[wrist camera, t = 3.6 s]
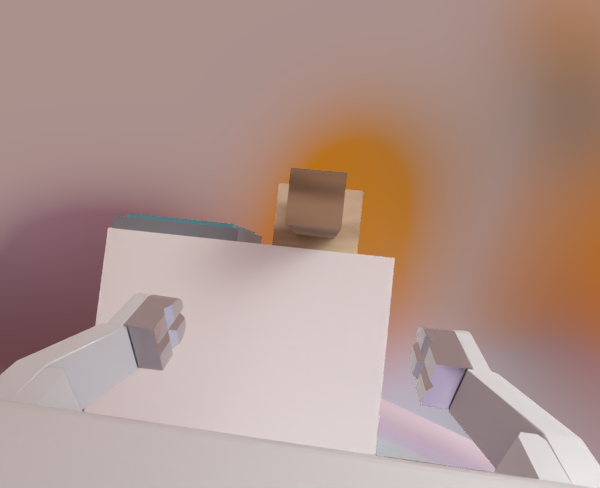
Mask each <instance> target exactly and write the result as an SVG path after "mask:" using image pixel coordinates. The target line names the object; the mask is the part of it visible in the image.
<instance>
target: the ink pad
mask: <svg viewBox="0 0 600 488" xmlns="http://www.w3.org/2000/svg"><path fill="white" fill-rule="evenodd" d="M112 228H116V229H125V230H135V231H144V232H153V233H163V234H172V235H182V236H191V237H200V238H210V239H219V240H229V241H238V242H248V243H257V244H261V239H262V237H261V236H259V235H256V234H254V233H255V232H252V231H250V230H247V229H245V228H242V227H239V226H237V225H234V224H227V223H217V222H207V221H197V220H187V219H178V218H167V217H158V216H148V215H139V214H129V213H128V215H127V217H122V216H113V225H112Z"/></svg>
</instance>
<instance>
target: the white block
mask: <svg viewBox="0 0 600 488" xmlns="http://www.w3.org/2000/svg"><path fill="white" fill-rule="evenodd" d="M394 260H395V258H388V257H379V256H370V255H360V254H351V253H342V252H332V251H323V250H313V249H304V248H295V247H285V246H276V245H266V244H257V243H248V242H238V241H229V240H219V239H210V238H200V237H191V236H182V235H172V234H163V233H153V232H144V231H135V230H125V229H116V228H108V234H107V241H106V249H105V257H104V264H103V272H102V280H101V287H100V295H99V302H98V310H97V318H96V326H97V325H99V324H101V323H104V324H106V323H107V322H108V321H109V320H110V319H111V318H112V317H113V316H114V315H115V314H116V313H117V312H118V311H119V310H120V309H121V308H122V307H123V306H124V305H125V304H126V303H127V302H128V301H129V300H130V299H131V298H132V297H133V296H134V295H135V294H137V293H143V294H150V295H159V296H166V297H173V298H179V299H181V300H182V304H183V309H182V310H181V312H180V313H181V314H182V315H183V316H184V317H185V322H186V326H185V332H184V335H183V338H182V340H181V342H180V344H179V345H177V346H176V347H174V348H172V353H173V355H172V357H171V358H170V360H169V362H168V363H167V365H166V366H165V368H164V370H163V371H162V370H153V369H143V368H138V370H136V371H135V372H134V373H132V374H131V375H129V376H128V377H127V378H125V379H124V380H122V381H121V382H120V383H118V384H117V385H116V386H114V387H113V388H111V389H110V390H109V391H107V392H106V393H104V394H103V395H102V396H100V397H99V398H97V399H96V400H95V401H93V402H92V403H91V404H89V405H88V406H86V407H85V409H84V412H87V413H93V414H100V415H107V416H114V417H121V418H127V419H134V420H141V421H148V422H154V423H161V424H168V425H175V426H181V427H188V428H195V429H202V430H209V431H215V432H222V433H229V434H235V435H242V436H249V437H256V438H262V439H269V440H276V441H283V442H289V443H296V444H303V445H309V446H316V447H323V448H330V449H337V450H344V451H350V452H357V453H364V454H371V455H376V446H377V436H378V425H379V415H380V405H381V394H382V384H383V373H384V362H385V353H386V342H387V332H388V322H389V311H390V300H391V290H392V280H393V270H394Z"/></svg>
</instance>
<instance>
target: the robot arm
mask: <svg viewBox="0 0 600 488" xmlns="http://www.w3.org/2000/svg"><path fill="white" fill-rule="evenodd" d="M182 309H183V304H182V300H181V299H179V298H173V297H166V296H159V295H150V294H143V293H137V294H135V295H134V296H133V297H132V298H131V299H130V300H129V301H128V302H127V303H126V304H125V305H124V306H123V307H122V308H121V309H120V310H119V311H118V312H117V313H116V314H115V315H114V316H113V317H112V318H111V319H110V320H109V321H108V322H107V323H106V324H104V323H101V324H99V325H97V326H95V327H92V328H90V329H88V330H85V331H83V332H81V333H79V334H77V335H74V336H72V337H70V338H67V339H65V340H63V341H61V342H58V343H56V344H54V345H52V346H49V347H47V348H45V349H43V350H40V351H38V352H36V353H34V354H31V355H29V356H27V357H25V358H22V359H20V360H18V361H16V362H15V363H14V364H13V365H11V366H10V367H9V368H8V369H7V370H6V371H4V372H3V373H2V374H1V375H0V488H600V466H599V464H598V463H597V461H596V460H595V458H594V457H593V455H592V454H591V452H590V451H589V449H588V448H587V446H586V445H585V444H584V442H583V441H582V439H580V438H579V437H578V436H576V435H575V434H574V433H573V432H572V431H570V430H569V429H568V428H567V427H565V426H564V425H562V424H561V423H560V422H559V421H557V420H556V419H555V418H554V417H552V416H551V415H550V414H549V413H547V412H546V411H545V410H543V409H542V408H541V407H540V406H538V405H537V404H536V403H534V402H533V401H532V400H531V399H529V398H528V397H527V396H526V395H524V394H523V393H522V392H520V391H519V390H518V389H516V388H515V387H514V386H513V385H511V384H510V383H509V382H508V381H506V380H505V379H504V378H502V377H501V376H500V375H499V374H497V373H494V372H491V370H490V369H489V367H488V365H487V363H486V361H485V359H484V357H483V356H482V354H481V352H480V350H479V348H478V346H477V345H476V343H475V341H474V339H473V337H472V335H471V334H470V333H469V332H467V331H459V330H446V329H437V328H428V327H420V328H419V329H418V331H417V334H416V337H417V341H418V342H417V343H416V344H414V345H413V347H412V350H411V357H410V363H411V370H412V374H413V375H414V376H415V377H416V378H417V379H418V381H417V384H416V390H417V394H418V397H419V401H420V405H422V406H428V407H434V408H440V409H446V410H449V412H450V414H451V415H452V416H453V417H454V418H455V420H456V421H457V422H458V423H459V425H460V426H461V427H462V428H463V429H464V431H465V432H466V433H467V434H468V435H469V437H470V438H471V439H472V440H473V442H474V443H475V444H476V445H477V446H478V448H479V449H480V450H481V451H482V452H483V454H484V455H485V456H486V457H487V458H488V460H489V461H490V462H491V463H492V465H493V466H494V467H495V468H496V470H495V471H494V473H493V472H486V471H479V470H473V469H466V468H459V467H452V466H446V465H439V464H432V463H425V462H419V461H412V460H405V459H398V458H391V457H385V456H378V455H371V454H364V453H357V452H350V451H344V450H337V449H330V448H323V447H316V446H309V445H303V444H296V443H289V442H283V441H276V440H269V439H262V438H256V437H249V436H242V435H235V434H229V433H222V432H215V431H209V430H202V429H195V428H188V427H181V426H175V425H168V424H161V423H154V422H148V421H141V420H134V419H127V418H121V417H114V416H107V415H100V414H93V413H87V412H83V411H82V409H84V408H85V407H86V406H88V405H89V404H91V403H92V402H93V401H95V400H96V399H97V398H99V397H100V396H102V395H103V394H104V393H106V392H107V391H109V390H110V389H111V388H113V387H114V386H116V385H117V384H118V383H120V382H121V381H122V380H124V379H125V378H127V377H128V376H129V375H131V374H132V373H134V372H135V371H136V370H138V368H143V369H153V370H162V371H163V370H164V368H165V366H166V365H167V363H168V362H169V360H170V358H171V357H172V355H173V353H172V348H174V347H176V346H177V345H179V344H180V342H181V340H182V338H183V335H184V332H185V326H186V322H185V317H184V316H183V315H182V314H181V313H180V312H181V310H182Z"/></svg>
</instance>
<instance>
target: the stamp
mask: <svg viewBox="0 0 600 488" xmlns="http://www.w3.org/2000/svg"><path fill="white" fill-rule="evenodd" d="M346 178H347V173H344V172H332V171H321V170H310V169H298V168H291V173H290V181H289V184H281V183H280V184H279V190H278V199H277V208H276V218H275V226H274V235H273V244H272V245H276V246H285V247H295V248H304V249H313V250H323V251H332V252H342V253H351V254H357V247H358V237H359V228H360V219H361V209H362V199H363V191H356V190H346V189H345V187H346Z"/></svg>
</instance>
